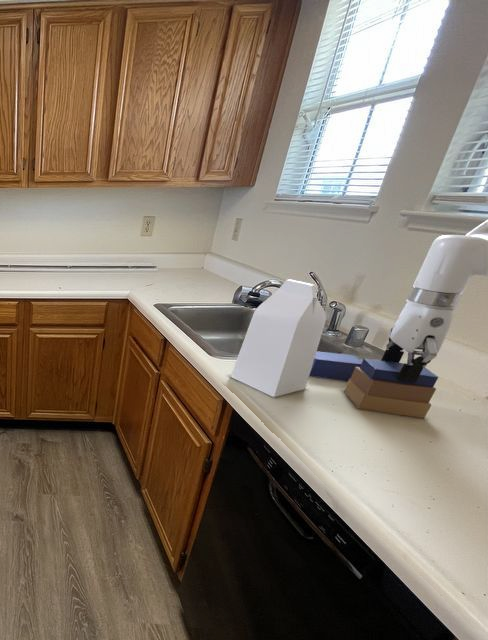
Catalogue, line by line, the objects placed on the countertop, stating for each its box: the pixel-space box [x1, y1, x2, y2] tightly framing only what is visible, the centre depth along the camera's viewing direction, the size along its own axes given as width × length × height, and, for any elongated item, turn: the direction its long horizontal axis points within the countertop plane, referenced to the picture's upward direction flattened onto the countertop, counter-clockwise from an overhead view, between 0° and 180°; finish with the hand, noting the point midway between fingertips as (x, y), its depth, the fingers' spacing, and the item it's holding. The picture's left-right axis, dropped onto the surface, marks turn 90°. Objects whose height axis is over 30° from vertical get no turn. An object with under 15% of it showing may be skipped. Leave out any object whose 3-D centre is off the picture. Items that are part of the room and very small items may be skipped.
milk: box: [230, 279, 327, 398], centre depth 102 cm, size 12×12×26 cm
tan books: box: [343, 367, 437, 419], centre depth 96 cm, size 12×9×7 cm
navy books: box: [309, 350, 363, 382], centre depth 111 cm, size 11×7×5 cm, turn 69°
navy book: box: [360, 358, 439, 387], centre depth 94 cm, size 11×6×2 cm, turn 69°
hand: (396, 373), depth 94 cm, fingers open, 7 cm apart
